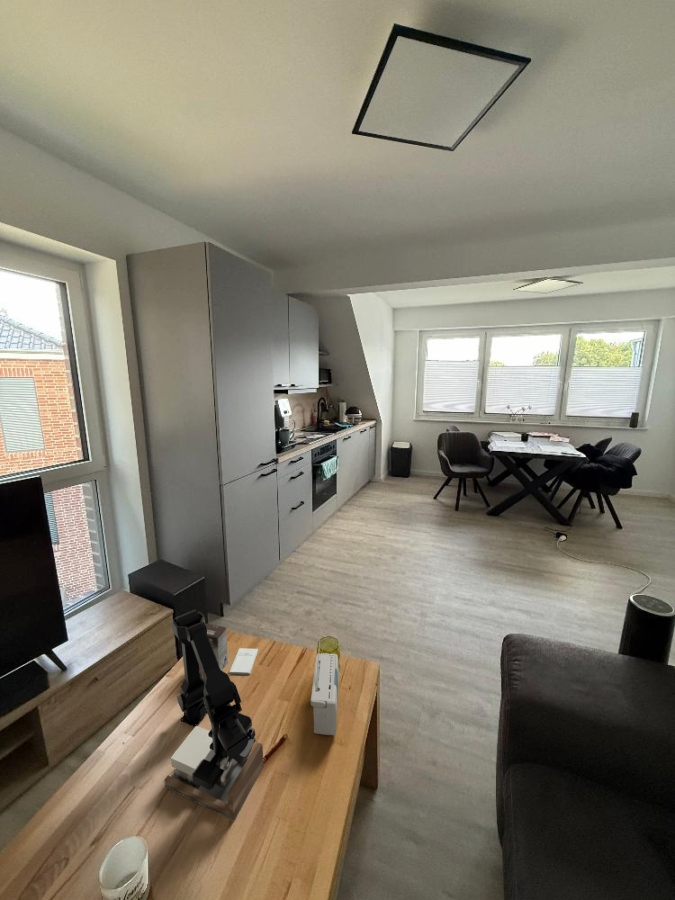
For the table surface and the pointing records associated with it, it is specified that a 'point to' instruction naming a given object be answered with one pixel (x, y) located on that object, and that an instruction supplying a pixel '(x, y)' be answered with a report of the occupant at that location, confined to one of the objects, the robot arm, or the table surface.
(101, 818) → the table surface
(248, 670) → the external hard drive
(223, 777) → the loose roller
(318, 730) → the stereo radio cassette player
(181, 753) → the slab
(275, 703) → the table surface
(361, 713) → the table surface
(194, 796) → the track
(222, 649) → the coffee box
